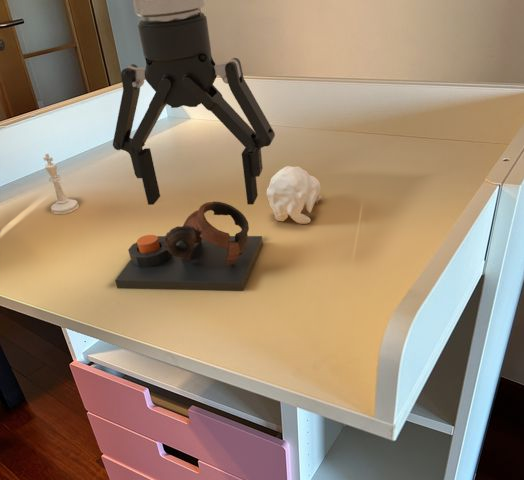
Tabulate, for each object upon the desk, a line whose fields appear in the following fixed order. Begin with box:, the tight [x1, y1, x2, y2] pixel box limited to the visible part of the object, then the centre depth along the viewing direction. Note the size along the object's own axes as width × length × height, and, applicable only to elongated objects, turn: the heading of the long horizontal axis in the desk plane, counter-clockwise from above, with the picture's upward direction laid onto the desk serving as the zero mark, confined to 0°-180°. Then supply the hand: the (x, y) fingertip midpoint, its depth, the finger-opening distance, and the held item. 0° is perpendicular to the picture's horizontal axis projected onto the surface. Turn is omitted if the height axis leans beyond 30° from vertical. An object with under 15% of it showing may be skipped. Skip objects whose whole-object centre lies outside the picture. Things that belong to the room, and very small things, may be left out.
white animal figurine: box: [266, 165, 323, 225], centre depth 88 cm, size 6×8×12 cm
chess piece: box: [43, 153, 80, 215], centre depth 100 cm, size 5×5×10 cm
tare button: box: [136, 234, 160, 253], centre depth 80 cm, size 3×3×2 cm
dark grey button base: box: [114, 235, 264, 292], centre depth 80 cm, size 18×13×3 cm
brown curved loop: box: [164, 201, 250, 264], centre depth 77 cm, size 12×10×8 cm
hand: (202, 200), depth 74 cm, fingers open, 13 cm apart
